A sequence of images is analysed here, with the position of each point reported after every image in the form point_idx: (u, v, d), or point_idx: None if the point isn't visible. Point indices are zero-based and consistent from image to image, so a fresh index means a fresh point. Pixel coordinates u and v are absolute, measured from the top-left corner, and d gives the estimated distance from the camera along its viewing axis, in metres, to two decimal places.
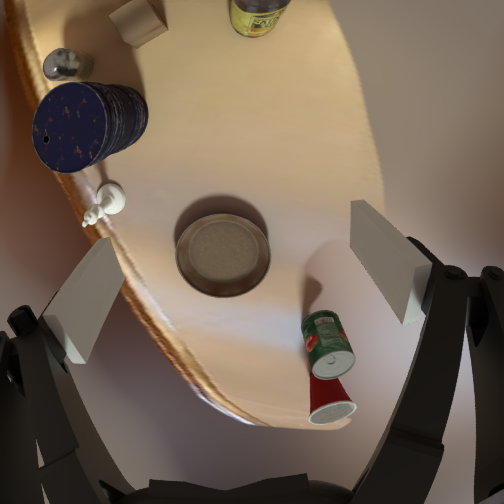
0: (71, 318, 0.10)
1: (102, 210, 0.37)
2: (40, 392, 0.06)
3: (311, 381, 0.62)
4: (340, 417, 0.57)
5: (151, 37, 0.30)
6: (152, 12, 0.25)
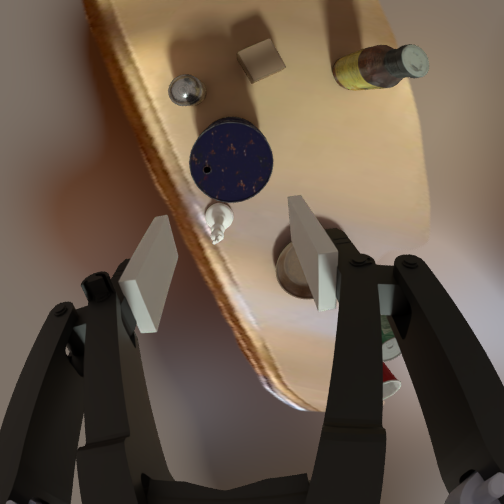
0: (146, 285, 0.11)
1: (223, 228, 0.46)
2: (101, 367, 0.07)
3: None
4: (386, 396, 0.67)
5: (266, 76, 0.40)
6: (280, 59, 0.34)
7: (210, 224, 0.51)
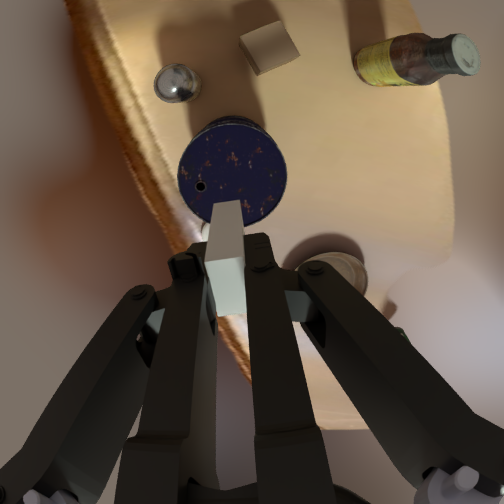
0: None
1: None
2: (173, 354, 0.07)
3: None
4: None
5: (275, 67, 0.32)
6: (293, 45, 0.27)
7: None
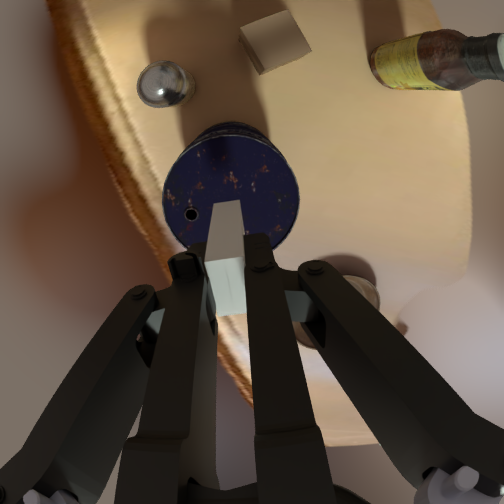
0: None
1: None
2: (173, 354, 0.07)
3: None
4: None
5: (281, 65, 0.27)
6: (304, 39, 0.22)
7: None
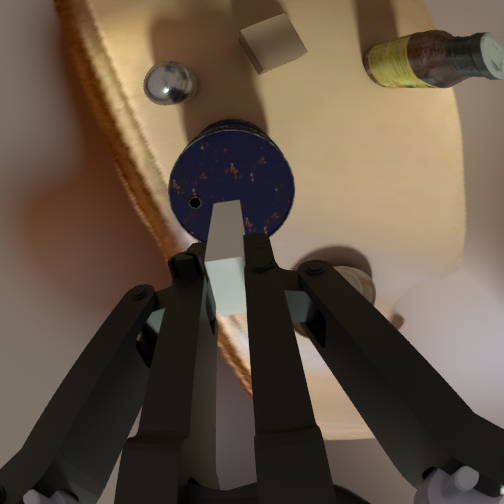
0: None
1: None
2: (173, 354, 0.07)
3: None
4: None
5: (279, 65, 0.29)
6: (300, 41, 0.23)
7: None
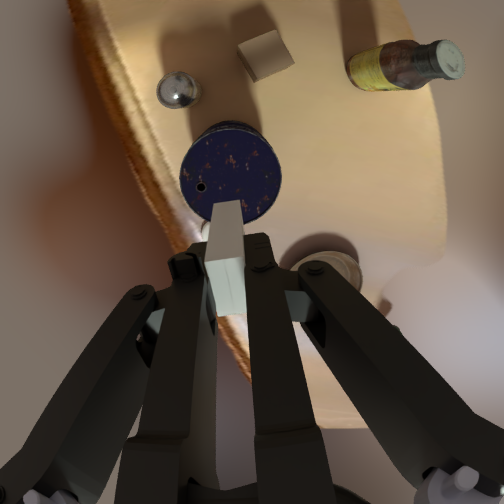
0: None
1: None
2: (173, 354, 0.07)
3: None
4: None
5: (271, 74, 0.34)
6: (288, 53, 0.29)
7: None
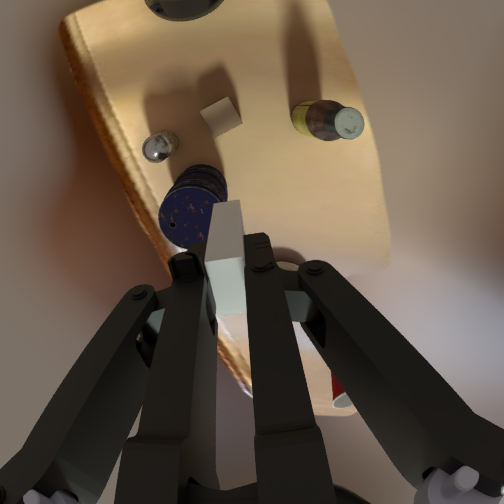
0: None
1: None
2: (173, 354, 0.07)
3: (332, 375, 0.80)
4: None
5: None
6: (237, 116, 0.42)
7: None
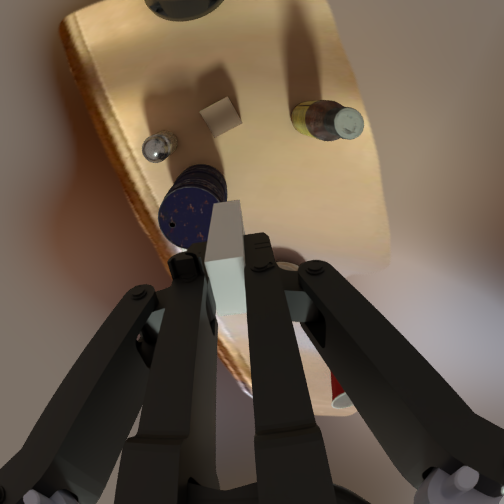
0: None
1: None
2: (173, 354, 0.07)
3: (332, 375, 0.80)
4: None
5: None
6: (237, 116, 0.42)
7: None
